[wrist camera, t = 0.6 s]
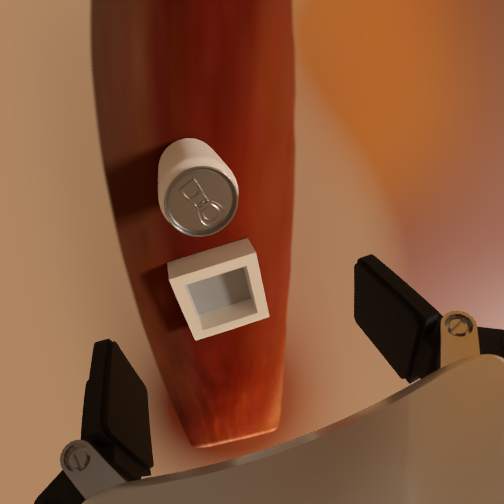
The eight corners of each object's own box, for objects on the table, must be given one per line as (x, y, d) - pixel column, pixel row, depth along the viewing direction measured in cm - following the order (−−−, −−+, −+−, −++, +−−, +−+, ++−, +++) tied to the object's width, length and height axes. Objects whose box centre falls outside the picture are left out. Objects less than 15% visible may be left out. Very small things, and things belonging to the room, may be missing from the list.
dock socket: (167, 262, 38) (168, 279, 35) (247, 237, 40) (255, 252, 36) (191, 322, 44) (195, 340, 40) (261, 299, 45) (269, 316, 42)
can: (182, 205, 35) (194, 257, 25) (146, 163, 32) (140, 199, 22) (228, 169, 35) (259, 207, 25) (193, 125, 31) (210, 142, 21)
